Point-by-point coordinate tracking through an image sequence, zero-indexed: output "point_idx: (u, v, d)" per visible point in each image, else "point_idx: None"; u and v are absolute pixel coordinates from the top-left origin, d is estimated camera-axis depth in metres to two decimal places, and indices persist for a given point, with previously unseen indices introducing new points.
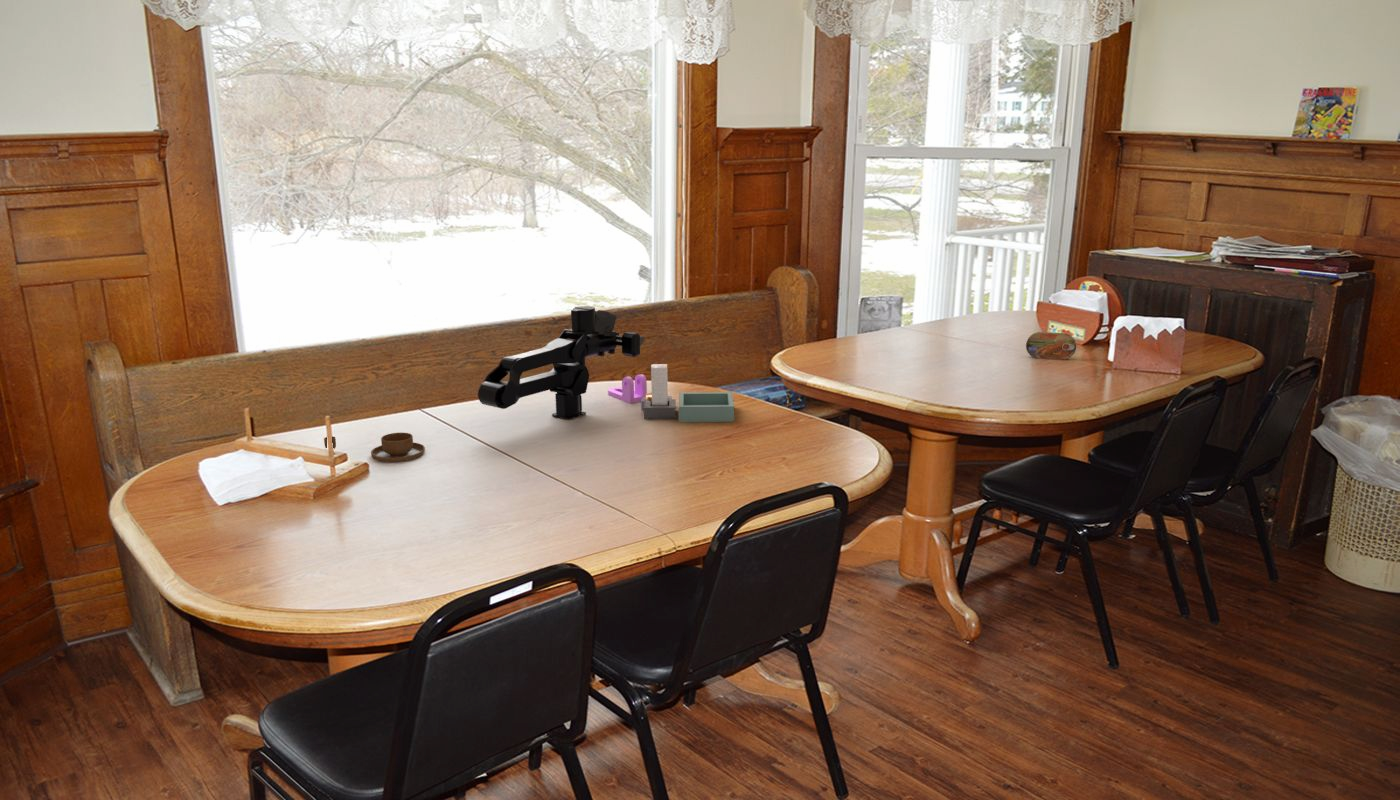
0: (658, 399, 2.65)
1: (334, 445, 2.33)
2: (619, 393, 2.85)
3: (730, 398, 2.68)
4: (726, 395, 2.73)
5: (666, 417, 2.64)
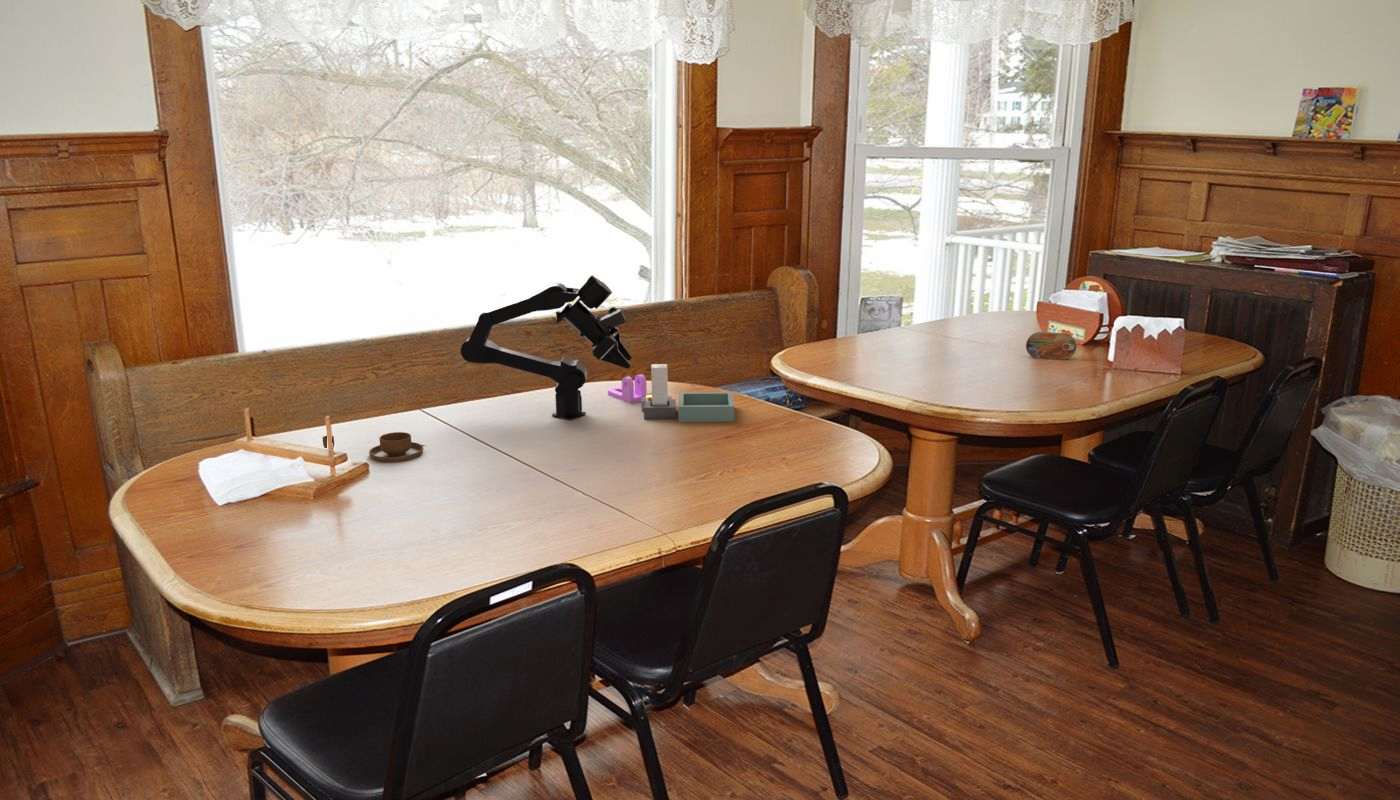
0: (658, 399, 2.65)
1: None
2: (619, 393, 2.85)
3: (730, 398, 2.68)
4: (726, 395, 2.73)
5: (666, 417, 2.64)
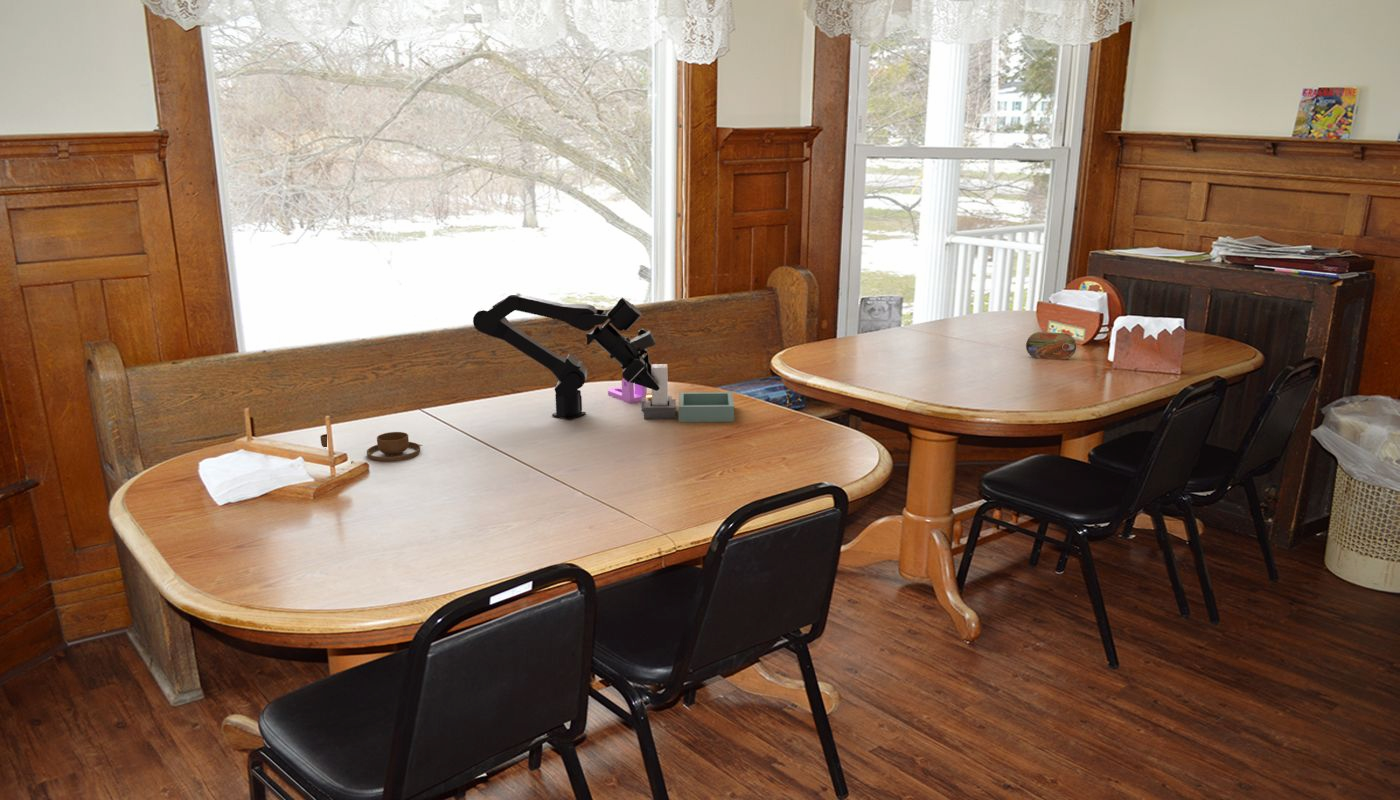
0: (658, 399, 2.65)
1: None
2: (619, 393, 2.85)
3: (730, 398, 2.68)
4: (726, 395, 2.73)
5: (666, 417, 2.64)
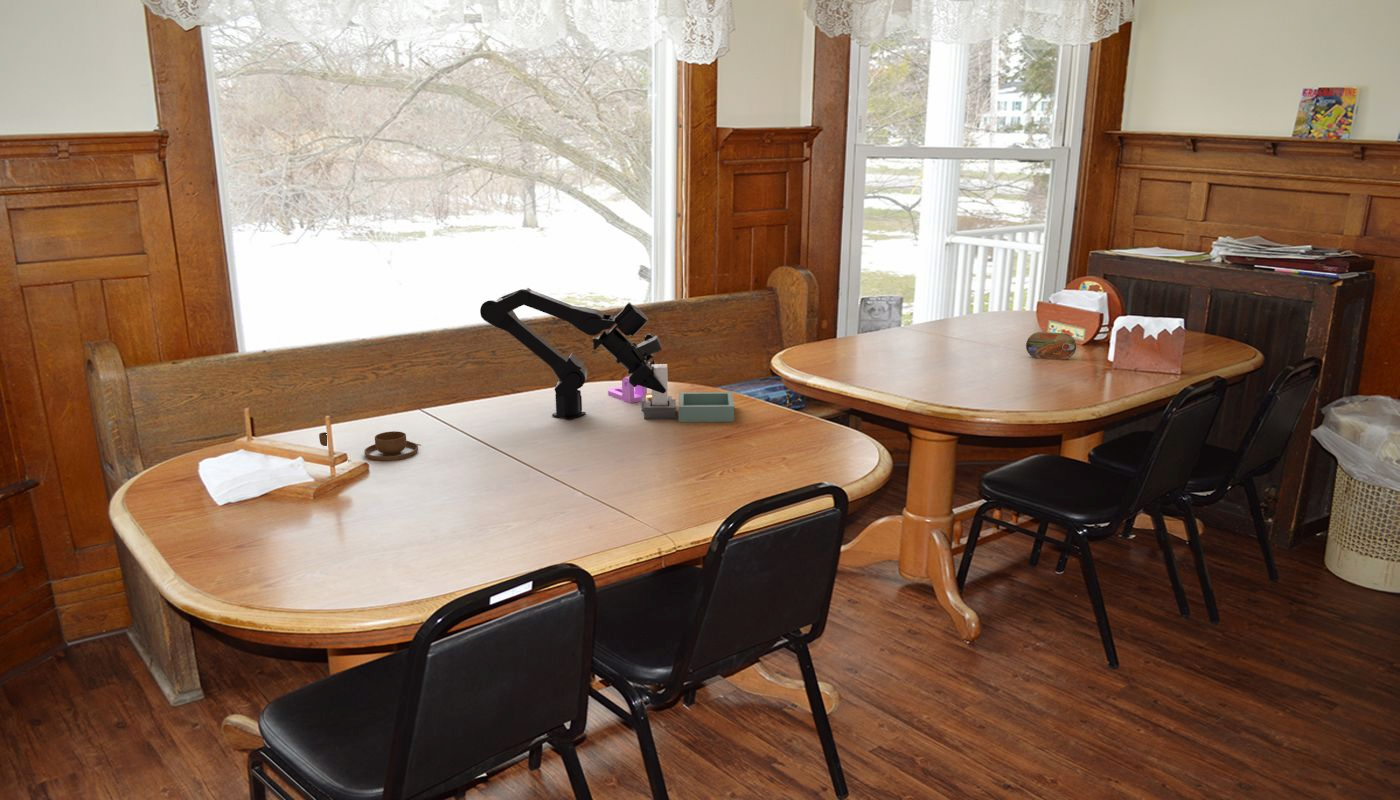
0: (658, 399, 2.65)
1: None
2: (619, 393, 2.85)
3: (730, 398, 2.68)
4: (726, 395, 2.73)
5: (666, 417, 2.64)
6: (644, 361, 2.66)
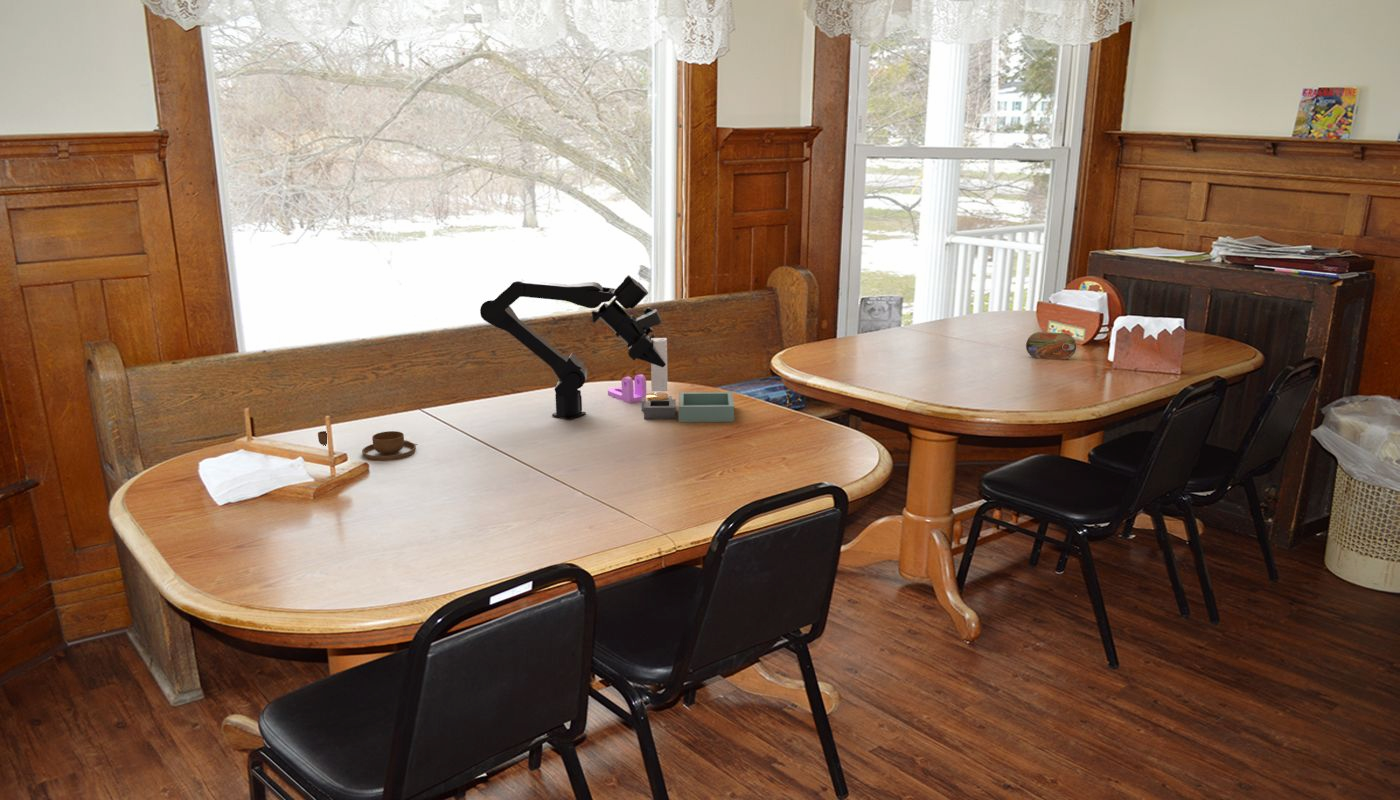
0: (658, 373, 2.63)
1: None
2: (619, 393, 2.85)
3: (730, 398, 2.68)
4: (726, 395, 2.73)
5: (666, 417, 2.64)
6: (643, 335, 2.64)
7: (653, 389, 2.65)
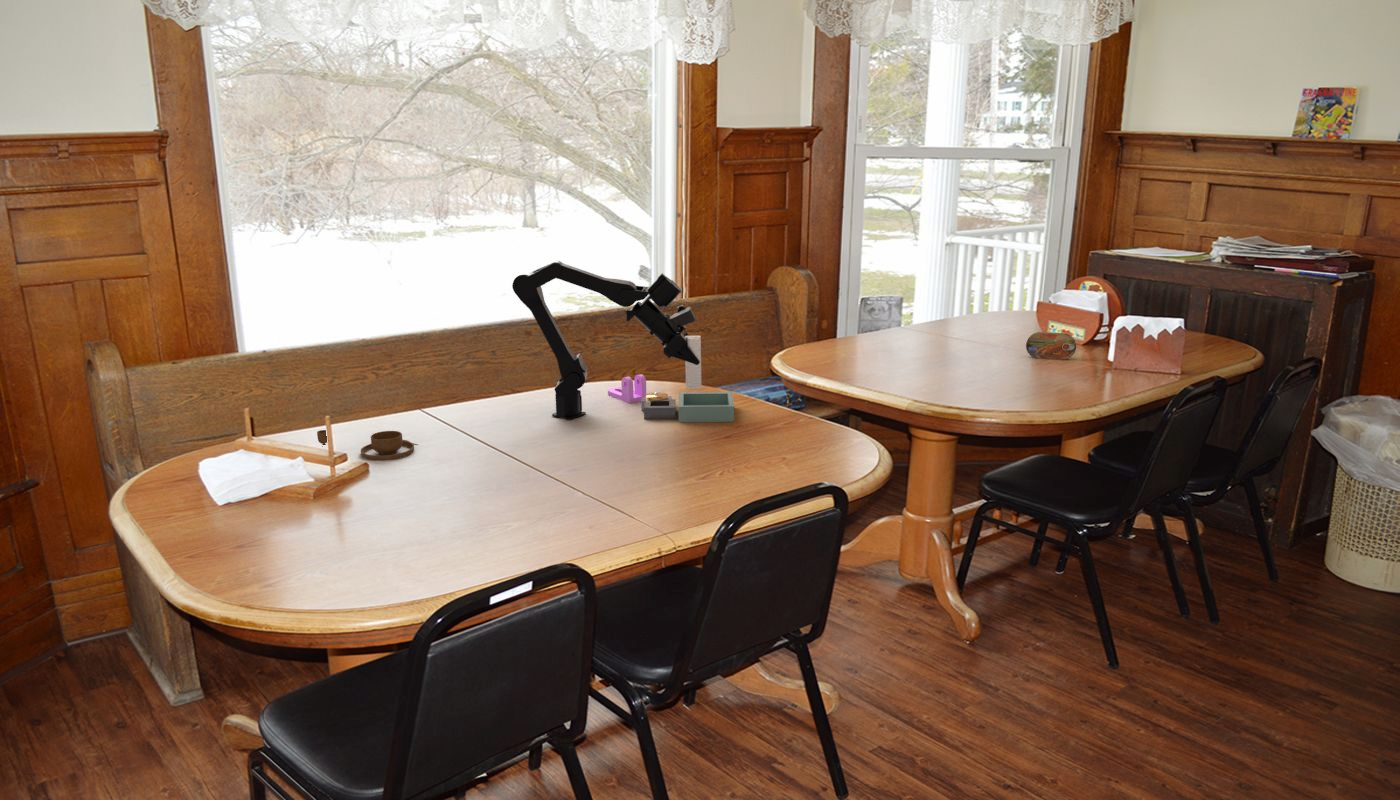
0: (692, 371, 2.63)
1: (326, 439, 2.37)
2: (619, 393, 2.85)
3: (730, 398, 2.68)
4: (726, 395, 2.73)
5: (666, 417, 2.64)
6: (677, 333, 2.64)
7: (687, 387, 2.64)
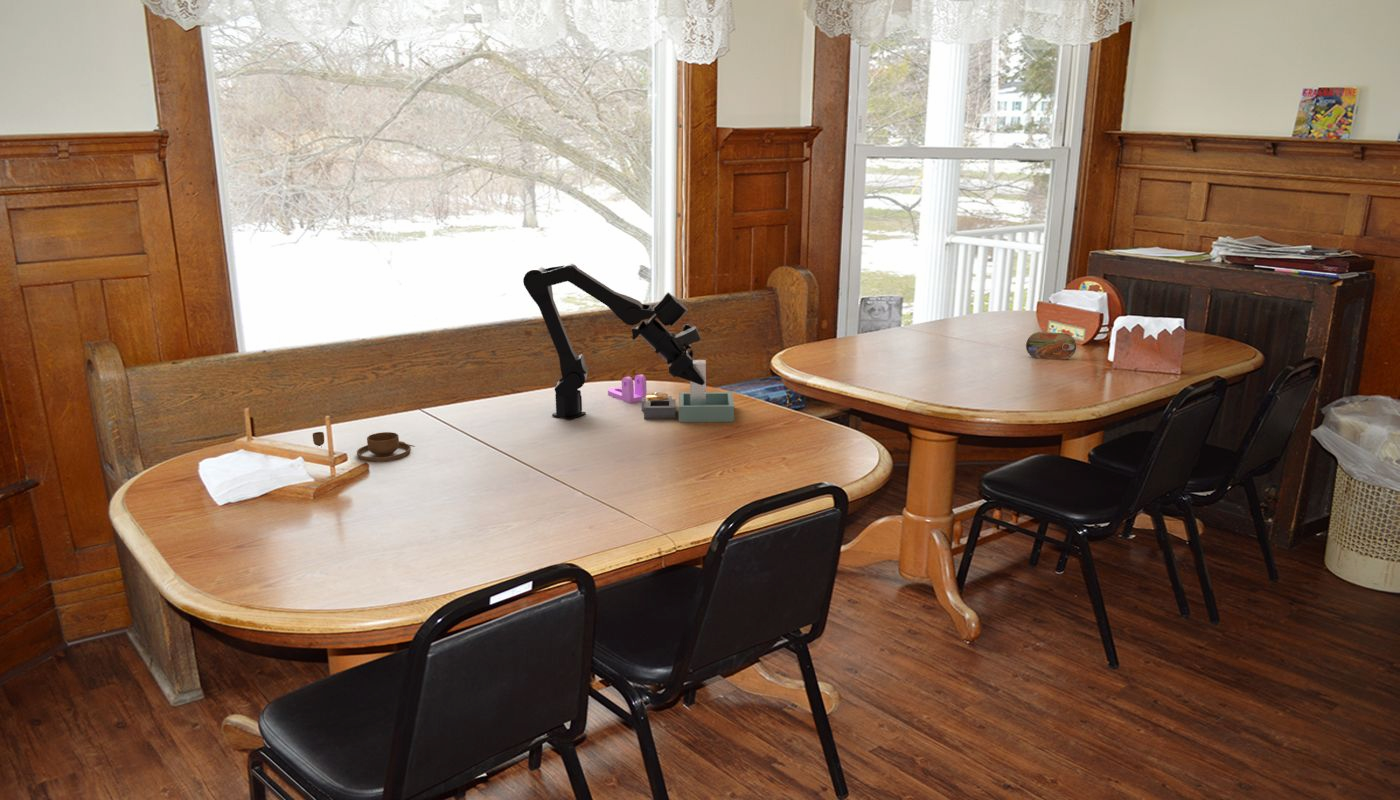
0: (697, 395, 2.65)
1: (321, 441, 2.36)
2: (619, 393, 2.85)
3: (730, 398, 2.68)
4: (726, 395, 2.73)
5: (666, 417, 2.64)
6: None
7: None
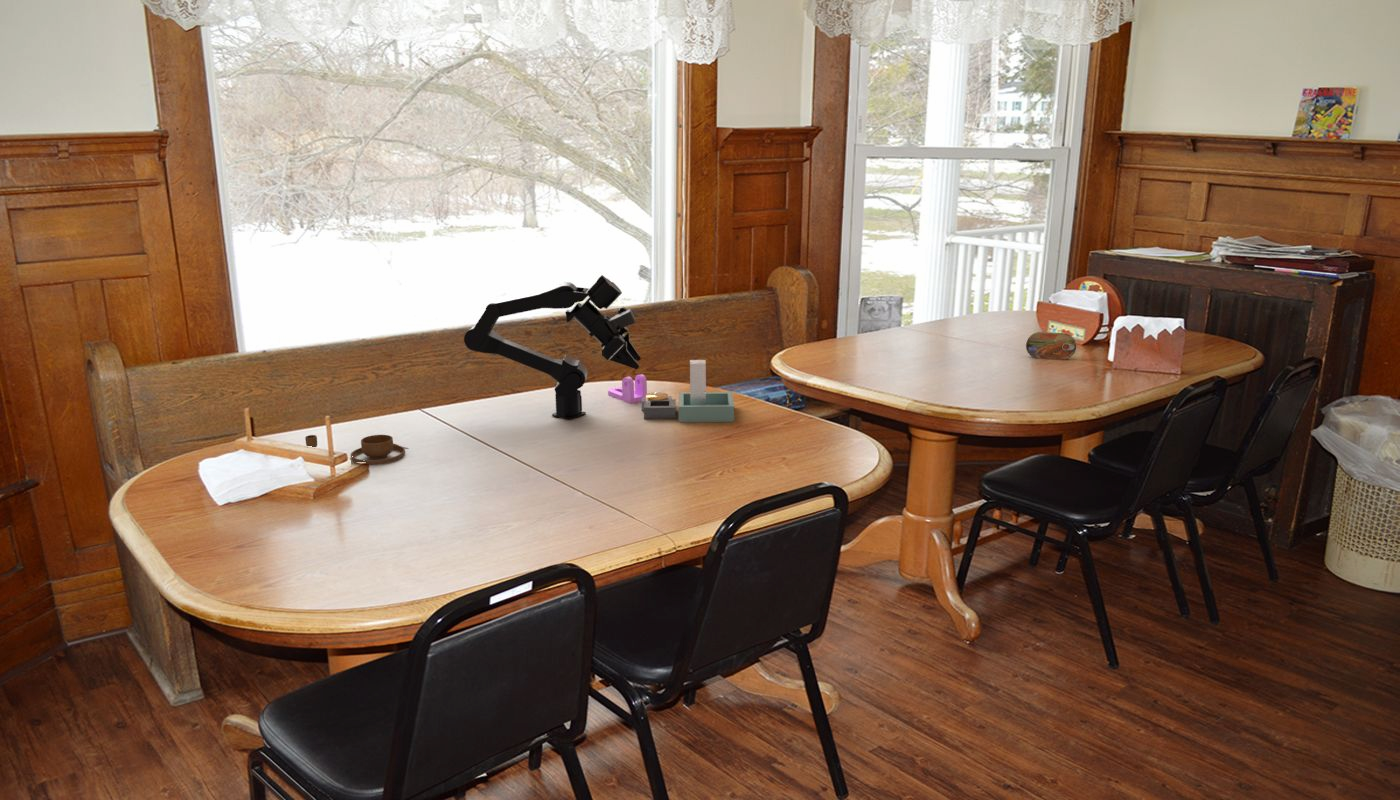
0: (697, 395, 2.65)
1: (315, 444, 2.34)
2: (619, 393, 2.85)
3: (730, 398, 2.68)
4: (726, 395, 2.73)
5: (666, 417, 2.64)
6: None
7: None
